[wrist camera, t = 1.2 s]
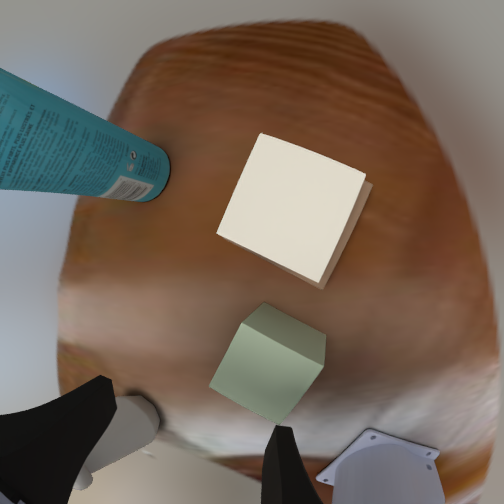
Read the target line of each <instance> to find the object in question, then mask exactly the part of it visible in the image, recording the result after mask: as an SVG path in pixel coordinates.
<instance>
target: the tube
mask: <svg viewBox="0 0 504 504" xmlns="http://www.w3.org/2000/svg"><path fill="white" fill-rule="evenodd" d="M169 172H170V165H169V160H168V157H167V155H166V153H165V152H164V151H163V150H162V149H161V148H159V147H157V146H155V145H153V144H151V143H149V142H147V141H146V140H144V139H142V138H140V137H138V136H136V135H134V134H132V133H130V132H128V131H126V130H124V129H122V128H120V127H118V126H116V125H114V124H112V123H110V122H108V121H106V120H104V119H102V118H100V117H98V116H96V115H94V114H92V113H90V112H88V111H86V110H84V109H82V108H80V107H78V106H76V105H74V104H72V103H70V102H68V101H66V100H64V99H62V98H60V97H58V96H56V95H54V94H52V93H50V92H47V91H45V90H43V89H41V88H39V87H37V86H35V85H33V84H31V83H29V82H27V81H25V80H23V79H21V78H19V77H17V76H15V75H13V74H11V73H9V72H7V71H5V70H3V69H1V68H0V189H5V190H22V191H23V190H24V191H39V192H51V193H52V192H53V193H64V194H75V195H85V196H95V197H104V198H113V199H121V200H129V201H138V202H146V201H149V200H152V199H153V198H155V197H156V196H158V195H159V194H160V192H161V191H162V190H163V188H164V187H165V184H166V182H167V180H168V177H169Z"/></svg>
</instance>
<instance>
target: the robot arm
mask: <svg viewBox="0 0 504 504" xmlns="http://www.w3.org/2000/svg"><path fill="white" fill-rule="evenodd" d="M116 410H117V404H116V400H115V395H114V390H113V385H112V380H111V379H109V378H106V377H104V376H102V375H99V376H97V377H96V378H94V379H92V380H90V381H89V382H87V383H85V384H83V385H82V386H80V387H78V388H76V389H74V390H73V391H71V392H69V393H67V394H65V395H63V396H61V397H59V398H57V399H55V400H52V401H50V402H48V403H46V404H43V405H41V406H38V407H35V408H32V409H29V410H25V411H21V412H17V413H11V414H5V415H0V504H67V503H68V500H69V497H70V494H71V491H72V489H73V486H74V484H75V481H76V479H77V477H78V474H79V472H80V470H81V468H82V466H83V464H84V462H85V460H86V459H87V457H88V455H89V454H90V453H91V451H92V450H93V448H94V447H95V445H96V444H97V442H98V441H99V439H100V438H101V437H102V435H103V434H104V432H105V431H106V429H107V428H108V426H109V425H110V423H111V421H112V419H113V417H114V415H115V412H116ZM374 435H375V436H374ZM371 436H374V437H371ZM428 452H429V453H428ZM439 454H440V452H439V450H436V449H433V448H429V447H425V446H421V445H418V444H414V443H411V442H408V441H405V440H401V439H398V438H395V437H392V436H389V435H386V434H383V433H380V432H378V431H375V430H372V429H368V430H366V431H364V432H363V433H362V434H361V435H360V436H359V437H358V438H357V439H356V440H355V441H354V442H353V443H352V444H351V445H350V446H349V447H348V448H347V449H346V450H345V451H344V452H343V453H342V454H341V455H340V456H339V457H338V458H337V459H335V460H334V461H333V462H332V463H331V464H330V465H329V466H328V467H326V468H325V469H324V470H323V471H322V472H320V473H319V474H318V475H317V476H316V480H317V481H320V482H323V483H326V484H329V485H333V486H334V490H333V498H332V504H445V497H444V493H443V489H442V486H441V482H440V479H439V475H438V472H437V469H436V465H435V462H434V460H435V459H436V458H437V457H438V456H439ZM261 504H323V502H322V501H321V499H320V498H319V496H318V494H317V492H316V490H315V489H314V487H313V485H312V483H311V481H310V479H309V476H308V474H307V472H306V470H305V467H304V465H303V462H302V460H301V457H300V454H299V451H298V448H297V445H296V442H295V438H294V434H293V430H292V428H291V427H286V426H278V425H276V426H275V428H274V431H273V433H272V435H271V438H270V440H269V442H268V445H267V447H266V449H265V455H264V461H263V468H262V492H261Z"/></svg>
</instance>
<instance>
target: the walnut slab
mask: <svg viewBox="0 0 504 504" xmlns="http://www.w3.org/2000/svg"><path fill="white" fill-rule="evenodd" d="M372 186H373V184H371V183H369V182H367V181H365V180H364V181H363V184H362V186H361V189H360V191H359V194H358V196H357V199H356V201H355V203H354V206H353V208H352V211H351V213H350V215H349V218H348V220H347V222H346V225H345V227H344V229H343V232H342V234H341V236H340V238H339V240H338V243H337V245H336V247H335V249H334V251H333V254H332V256H331V258H330V260H329V262H328V264H327V266H326V268H325V271H324V273H323V275H322V277H321V279H320V281H319V283H317V282H315V281H313V280H311V279H309V278H307V277H305V276H303V275H301V274H299V273H297V272H295V271H293V270H291V269H289V268H287V267H285V266H282V265H280V264H278V263H276V262H274V261H272V260H270V259H268V258H266V257H264V256H262V255H260V254H258V253H256V252H254V251H252V250H250V249H247V248H245V247H243V246H241V245H239V244H237V243H235V242H233V241H231V240H229V239H227V238H225V237H223V238H224V239H225V240H227V241H229V242H231V243H233V244H235V245H237V246H239V247H241V248H243V249H245V250H246V251H248V252H250V253H252V254H254V255H256V256H258V257H260V258H262V259H264V260H266V261H268V262H269V263H271V264H273V265H275V266H277V267H279V268H281V269H283V270H285V271H287V272H289V273H291V274H292V275H294V276H296V277H298V278H300V279H302V280H304V281H306V282H308V283H310V284H312V285H314V286H315V287H317V288H319V289H321V290H323V288H324V287H325V285H326V283H327V281H328V279H329V277H330V275H331V273H332V271H333V269H334V267H335V265H336V263H337V261H338V260H339V258H340V256H341V254H342V251H343V249H344V247H345V245H346V243H347V241H348V239H349V237H350V235H351V233H352V231H353V229H354V226H355V224H356V222H357V220H358V218H359V216H360V213H361V211H362V209H363V207H364V204H365V202H366V200H367V198H368V195H369V193H370V191H371V188H372Z"/></svg>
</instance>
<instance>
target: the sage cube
mask: <svg viewBox="0 0 504 504" xmlns="http://www.w3.org/2000/svg"><path fill="white" fill-rule="evenodd" d="M325 348H326V335H325V334H323V333H321V332H320V331H318V330H316V329H314V328H312V327H310V326H308V325H306V324H304V323H302V322H300V321H298V320H297V319H295V318H293V317H291V316H289V315H287V314H285V313H283V312H282V311H280V310H278V309H276V308H274V307H272V306H270V305H269V304H267V303H265V302H263V303H262V304H261V305H260V306H259V307H258V308H257V309H256V310H255V311H254V312H253V313H251V314H250V315H249V316H248V317H247V318H246V319H245V320H244V321H243V322H242V323H241V325H240V327H239V329H238V331H237V333H236V335H235V337H234V338H233V340H232V342H231V344H230V346H229V348H228V350H227V352H226V354H225V356H224V358H223V360H222V362H221V364H220V366H219V367H218V369H217V371H216V373H215V375H214V377H213V379H212V381H211V383H210V385H209V387H211V388H212V389H214V390H215V391H217V392H219V393H220V394H222V395H224V396H225V397H227V398H229V399H231V400H232V401H234V402H236V403H238V404H240V405H241V406H243V407H245V408H247V409H249V410H251V411H252V412H254V413H256V414H258V415H260V416H262V417H264V418H266V419H268V420H270V421H272V422H274V423H276V424H278V425H280V424H281V423H282V422H283V421H284V419H285V418H286V417H287V416H288V414H289V413H290V412H291V411H292V409H293V408H294V407H295V405H296V404H297V403H298V402H299V400H300V399H301V398H302V396H303V395H304V394H305V392H306V391H307V390H308V388H309V387H310V385H311V384H312V383H313V381H314V380H315V378H316V377H317V376H318V374H319V373H320V371H321V370H322V368H323V367H324V360H325Z"/></svg>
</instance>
